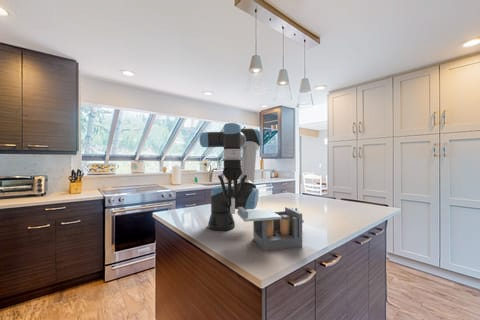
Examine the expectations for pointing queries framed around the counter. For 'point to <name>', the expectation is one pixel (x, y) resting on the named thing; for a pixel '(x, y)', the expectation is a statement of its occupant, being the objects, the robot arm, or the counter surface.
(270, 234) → the pin
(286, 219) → the pin
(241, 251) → the counter surface
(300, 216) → the housing
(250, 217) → the pale blue flat panel
